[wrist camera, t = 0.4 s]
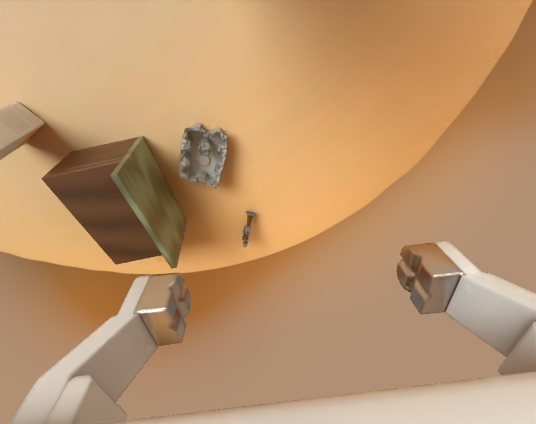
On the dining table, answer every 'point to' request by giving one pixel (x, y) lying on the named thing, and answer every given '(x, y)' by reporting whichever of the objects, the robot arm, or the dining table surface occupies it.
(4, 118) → the cosmetic box
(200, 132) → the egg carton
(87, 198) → the shelf
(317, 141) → the dining table surface
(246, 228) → the wooden post with brackets
